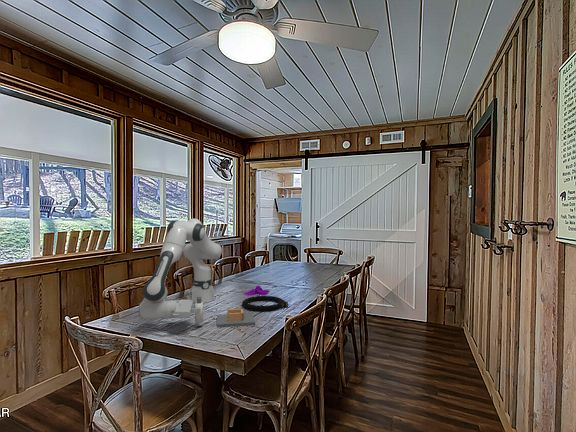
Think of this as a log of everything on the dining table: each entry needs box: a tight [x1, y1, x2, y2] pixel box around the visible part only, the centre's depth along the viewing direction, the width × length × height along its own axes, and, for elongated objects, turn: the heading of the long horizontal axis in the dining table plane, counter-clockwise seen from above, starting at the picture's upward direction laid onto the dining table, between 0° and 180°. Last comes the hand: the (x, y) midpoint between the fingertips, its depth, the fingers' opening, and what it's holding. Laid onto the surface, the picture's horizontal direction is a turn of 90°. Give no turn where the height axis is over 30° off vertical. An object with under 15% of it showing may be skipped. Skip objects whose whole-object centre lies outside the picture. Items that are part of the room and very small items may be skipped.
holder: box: [216, 308, 256, 328], centre depth 181 cm, size 20×16×6 cm
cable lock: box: [241, 295, 289, 313], centre depth 211 cm, size 28×4×30 cm
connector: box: [194, 297, 204, 324], centre depth 171 cm, size 4×4×13 cm
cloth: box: [242, 285, 270, 297], centre depth 242 cm, size 22×19×6 cm
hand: (200, 307), depth 171 cm, fingers closed on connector, 4 cm apart
